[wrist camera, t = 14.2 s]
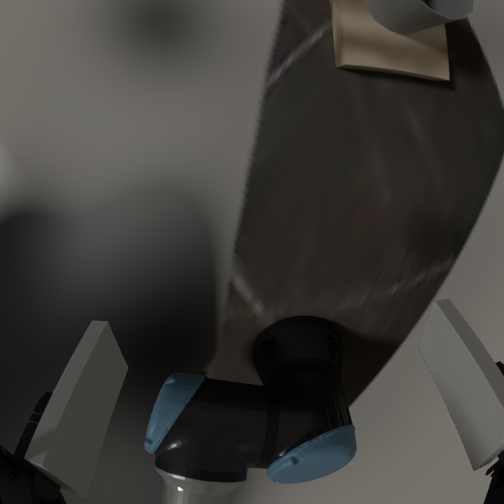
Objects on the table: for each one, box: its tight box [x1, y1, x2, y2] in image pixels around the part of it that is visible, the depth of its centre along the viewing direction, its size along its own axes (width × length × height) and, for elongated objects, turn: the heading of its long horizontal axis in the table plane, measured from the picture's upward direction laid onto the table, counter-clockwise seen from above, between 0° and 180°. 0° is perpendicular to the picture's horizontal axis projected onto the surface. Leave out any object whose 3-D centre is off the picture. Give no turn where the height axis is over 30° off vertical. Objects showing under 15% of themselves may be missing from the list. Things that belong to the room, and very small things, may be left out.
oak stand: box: [330, 0, 449, 81], centre depth 24 cm, size 18×14×4 cm
